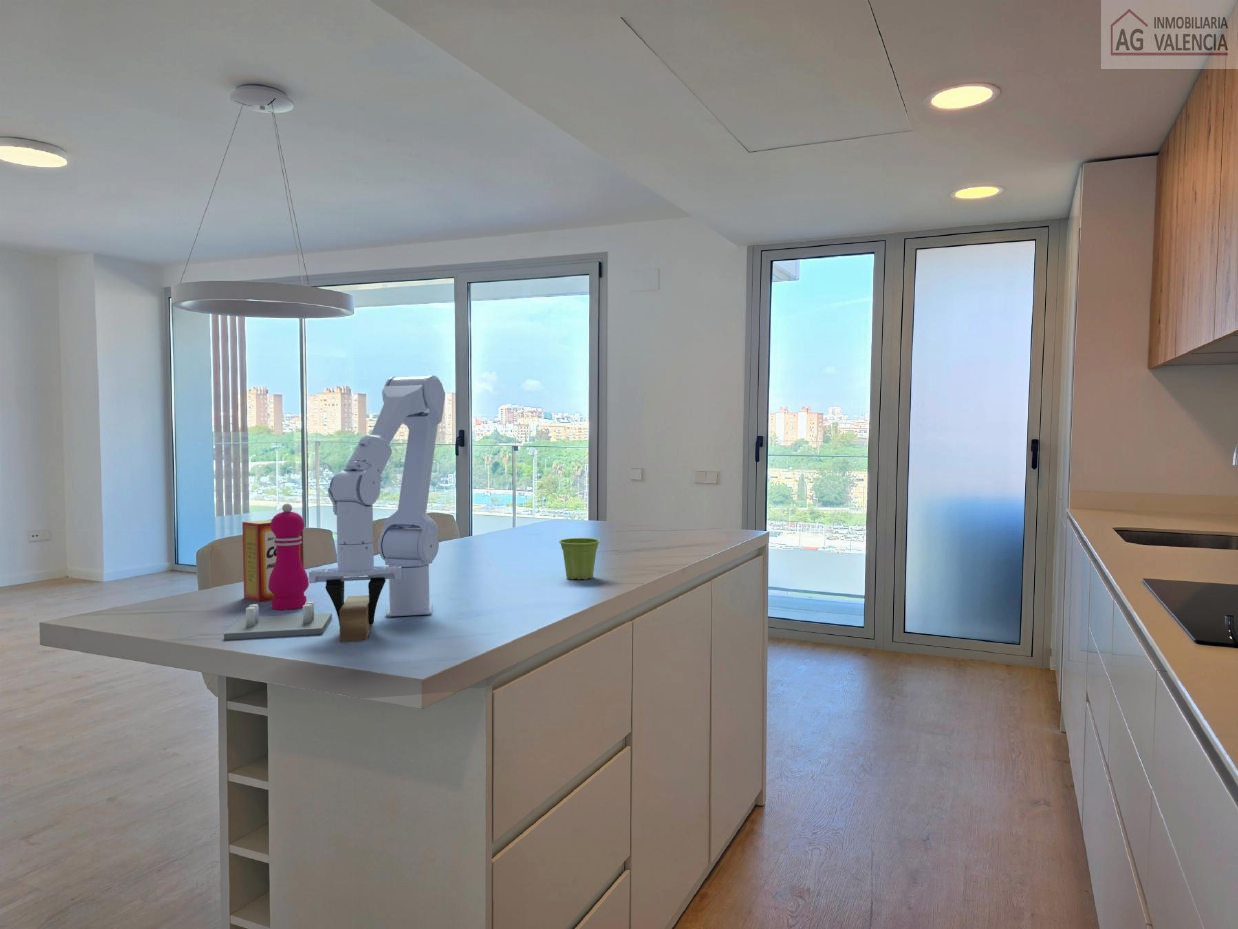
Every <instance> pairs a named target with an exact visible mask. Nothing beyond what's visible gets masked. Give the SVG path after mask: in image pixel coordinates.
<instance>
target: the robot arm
mask: <svg viewBox="0 0 1238 929" xmlns="http://www.w3.org/2000/svg"><path fill="white" fill-rule="evenodd" d="M381 393H382V396H381V397H382V401H383V404H382V408H381V409H380V412H379V415H378V417H377V419H376V421H375V424H374V426H373V429H372V431H371V433H370V434H369V435H365V436H362V437H361V438H360V440H359V442H358V444H357V445H356V447H355V449H354V450H353V453H352V455H351V456H350V458H349V460H348V462H347V463H346V465H345V467H344V469H343V470H341V471H339V472H337V473H336V474H335V475H333V477H332V478H331V479H330V483H329V487H328V488H327V494H328V497H329V500H330V501H331V503H332V512H333V514H334V515H335V516H336V545H337V548H336V551H337V567H334V568H333V567H332V568H324V569H323V568H321V569H311V570H309V571H308V581H309V584H317V583H325V590H326V593H327V594H328V596H329V598H330V600H331V602H332V604H333V606H334V609H335V612H336V616H337V618H338V626H339V627H340V616H339V611H340V609H341V607H342V606H343V604H344V602H345V582H352V581H369V582H368V584H367V587H368V595H369V624H372V625H373V624H374V623H375V616H376V610H377V604H378V601H379V598H380V596H381V593H382V590H383V588H384V586H385V584H386V580H388V586H389V589H388V592H389V594H388V595H389V598H388V599H389V605H388V607H387V609H386V610H387V611H386V613H385V616H386V617H405V616H421V615H422V616H423V615H431V614H432V612H433V610H432V609H433V602H432V601H430V564H433V561H435V558H436V557H437V555H438V553H439V546H440V543H439V542H440V541H439V534H438V532H439V531H438V530H439V525H438V523H436V521H435V520H434V519H433V518H432V517H431V516H429V514H427V509H428V502H429V494H430V488H431V487H430V486H431V481H432V480H431V479H432V470H433V464H434V456H435V450H436V442H437V434H438V425H439V424H440V423H442V421H443V415H444V410H445V409H444V407H445V401H446V392H445V389H444V386H443V383H442V382H441V380H440V378H439V377H438V376H436V375H428V376H408V377H407V376H406V377H404V376H403V377H402V376H400V377H399V376H398V377H397V376H391V377H389V378H388V379H387V380H386V382H385V384H384V387H383V388H382V391H381ZM402 425H405V426H406V427H407V429H408V433H407V434H408V435H407V443H406V450H405V456H404V463H403V464H404V465H403V471H402V477H401V478H402V479H401V485H400V490H399V491H400V492H399V498H398V499H399V500H398V505H397V510H396V511H395V512H393V514H391V515H390V516H388V517H387V518H386V519H385V520H384V525H383V528H382V532H381V534H380V536H379V538H378V541H377V549H378V553H379V556H380V558H381V559H382V560H383V561H384V564H385V566H381V565H380V566H379V565H378V566H375V565H374V563H375V562H374V561H375V560H374V555H375V554H374V516H373V515H374V512H373V509H374V508H373V507H374V506H373V505H374V504H375V503H376V502H377V500H378V499H379V497H380V495H381V494H380V493H381V483H382V479H383V477H382V473H383V471H384V470H385V468H386V466H387V464H388V462H389V461H390V460H389V459H390V458H391V457H392V454H393V450H392V447H391V445H390V443H391V442H392V440H393V438H394V437H395V435H396V434H397V432H398V430H399V429H400V427H401V426H402Z"/></svg>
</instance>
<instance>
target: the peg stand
mask: <svg viewBox="0 0 1238 929" xmlns="http://www.w3.org/2000/svg"><path fill="white" fill-rule="evenodd" d="M332 619H333V613H332V612H324V613H323V612H322V613H320V612H319V613H315V601H307V602H306V603H305V605H303V607H302V614H301V613H300V614H286V615H268V616H267V615H265V616H259V604H258V603H256V604H255V603H254V604H249V605H248V607H245V617H241V618H240V619H239V620H238V621H236V622H235V623H234V624H233V625H232V626H231V627H230V628H228V629H227V630H226V631H225V632H224V633H223V640H224V641H227V640H243V639H259V638H260V639H262V638H276V637H277V638H278V637H279V638H281V637H282V638H283V637H296V636H297V637H298V636H312V635H313V636H317V635H323V634H324V633H325V631H326V629H327V627H328V626H329V625H330V622H331V620H332Z"/></svg>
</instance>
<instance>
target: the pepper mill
mask: <svg viewBox="0 0 1238 929" xmlns="http://www.w3.org/2000/svg"><path fill="white" fill-rule="evenodd" d="M281 508H282V511H281V512H278V513H277V514H275V515H274V516H272V518H271V519H272V521H271V530H272V532H273V533H274V534H275V536H276V537H275V538H274V540H275V541H274V542H275V543H274V545H276V549H277V558H276V563H275V565H274V568H273V570H272V573H271V575H270V578H269V585H268V587H269V590H270V591H271V592H272V593H273V594H274V596H275V597H274V598H272V600H271V609H273V610H278V611H279V610H280V611H287V610H297V609H300V608H302V609H303V605H305V603H306V602H308V601H307V596H306V595H305V592H306V591H307V590H308V589H309V588H308V587H309V585H310V583H309V575H308V574H307V571H306V569H305V568H304V567H303V566H304V564H303V565H302V563H301V559H300V553H299V547H300V544H301V543H302V541H301V538H302V537H301V536H300V533H301V532H302V531H303V532H304V529H305V521H304V518H303V517H302V515H301V514H299V513H298V512H295V511H292V510H293V506H292V505H291V504H290V503H285V504H283V505H282V507H281ZM303 593H304V595H303Z"/></svg>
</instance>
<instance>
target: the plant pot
mask: <svg viewBox="0 0 1238 929" xmlns="http://www.w3.org/2000/svg"><path fill="white" fill-rule="evenodd" d="M558 543H559V544H560V547H561V550H562V553H563V561H564V568H565V575H566V576H565V577H566V578H567V579H570V580H575V579H577V580H579V581H581V580H580V579H584V580H589V579H588V578H590V579H592V578H594V571H595V563H596V555H597V550H598V547H599V543H601V540H600V539H599V538H589V537H574V538H565V539H564V538H563V539H560V540H559V541H558Z"/></svg>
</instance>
